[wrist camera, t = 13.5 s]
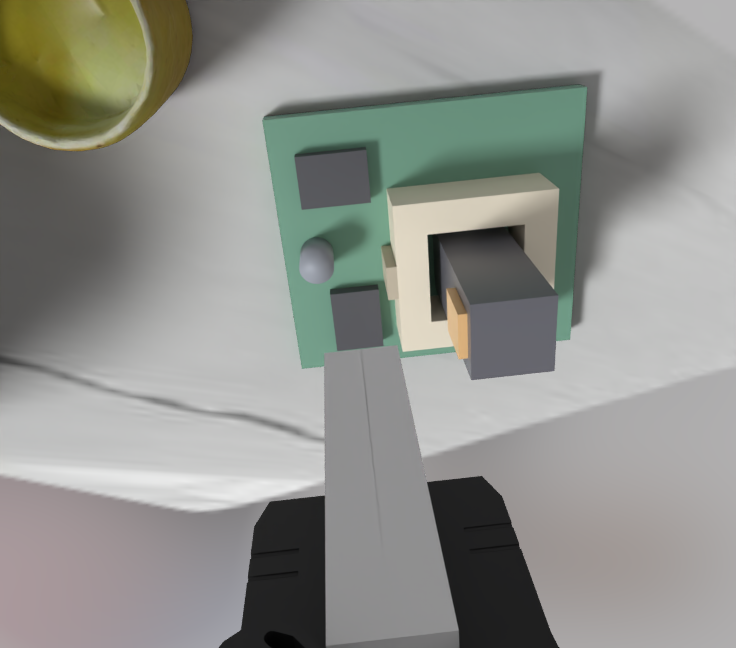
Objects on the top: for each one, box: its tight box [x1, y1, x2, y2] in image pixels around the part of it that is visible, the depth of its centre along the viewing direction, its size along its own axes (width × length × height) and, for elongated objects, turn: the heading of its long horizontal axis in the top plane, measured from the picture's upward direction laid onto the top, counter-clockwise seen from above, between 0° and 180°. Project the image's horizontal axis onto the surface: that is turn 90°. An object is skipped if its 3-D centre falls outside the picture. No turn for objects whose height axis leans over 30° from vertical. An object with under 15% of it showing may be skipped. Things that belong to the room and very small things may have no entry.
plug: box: [433, 227, 559, 380], centre depth 34 cm, size 4×4×11 cm
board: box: [262, 84, 587, 369], centre depth 38 cm, size 18×16×5 cm
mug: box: [0, 0, 193, 151], centre depth 30 cm, size 12×10×10 cm
